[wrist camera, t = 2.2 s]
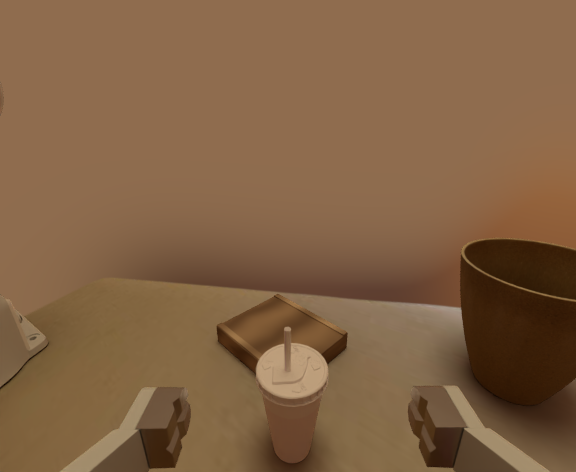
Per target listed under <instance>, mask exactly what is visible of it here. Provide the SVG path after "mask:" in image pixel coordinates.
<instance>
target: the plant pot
mask: <svg viewBox="0 0 576 472" xmlns="http://www.w3.org/2000/svg"><path fill="white" fill-rule="evenodd" d="M460 272H461V273H460V292H461V294H460V295H461V310H462V320H463V328H464V334H465V341H466V346H467V351H468V355H469V360H470V364H471V367H472V371H473V374H474V376H475V377H476V379H477V380H478V382H479V383H480V384H481V385H482V386H483V387H485V388H486V389H487V390H488V391H490V392H491V393H493V394H494V395H496V396H498V397H500V398H502V399H504V400H506V401H509V402H512V403H515V404H519V405H536V404H539V403H541V402H543V401H544V400H546V399H548V398H549V397H551V396H552V395H554V394H555V393H557V392H558V391H560V390H561V389H562V388H564V387H565V386H566V385H568V384H569V383H570V382H572V381H573V380H574V379H575V378H576V249H574V248H570V247H566V246H561V245H557V244H552V243H546V242H540V241H533V240H525V239H514V238H488V239H480V240H475V241H472V242H469V243H467V244H466V245H464V246H463V247H462V249H461V271H460Z"/></svg>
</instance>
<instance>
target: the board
mask: <svg viewBox="0 0 576 472" xmlns="http://www.w3.org/2000/svg"><path fill="white" fill-rule="evenodd" d="M285 327H290V328H291V343H298V344H303V345H306V346H309V347H311V348H313V349H315V350H316V351H318V352H319V353H320V354H321V355H322V356H323V358H324V359H325V361H326V363H327V364H328V363H329V362H330V361H331V360H332V359H334V358H335V357H336V356H337V355H338V354H339V353H341V352H342V351H343V350H344V349H345V348H346V345H347V332H346V331H344V330H342V329H341V328H339V327H337V326H335V325H333V324H332V323H330V322H328V321H326V320H324V319H323V318H321V317H319V316H317V315H315V314H313V313H312V312H310V311H308V310H306V309H304V308H303V307H301V306H299V305H297V304H295V303H294V302H292V301H290V300H288V299H286V298H285V297H283V296H281V295H279V294H276V295H274V297H272V298H270V299H269V300H267V301H265V302H263V303H261V304H259V305H257V306H255V307H253V308H251V309H249V310H247V311H245V312H244V313H242V314H240V315H238V316H236V317H234V318H232V319H230V320H228V321H226V322H224V323H220V324H218V325H217V335H218V341H219V342H220V343H221V344H222V345H223V346H225V347H226V348H227V349H228V350H229V351H230V352H231V353H233V354H234V355H235V356H236V357H237V358H238V359H239V360H241V361H242V362H243V363H244V364H245V365H246V366H247V367H249V368H250V369H251V370H252V371H253V372H254V373H255V374H256V366H257V363H258V361H259V359H260V357H261V356H262V355H263V354H264V353H265V352H266V351H267V350H269V349H271V348H272V347H275V346H277V345H281V344H284V328H285Z"/></svg>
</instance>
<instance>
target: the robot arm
mask: <svg viewBox="0 0 576 472" xmlns="http://www.w3.org/2000/svg"><path fill="white" fill-rule="evenodd" d="M3 99H4V97H3V90H2V86H1V83H0V115H1V112H2V109H3ZM47 344H48V340H47V338H46V337H45V335H43V334H42V333H41V332H40V331H39V330H38V329H37V328H36V327H35V326H34V325H33V324H32V323H30V322H29V321H28V320H27V319H26V318H25V317H24V316H23V315H22V314H21V313H20V312H18V311H17V310H16V309H15V308H14V307H13V305H12V303H11V301H10V300H9V299H5V298H4V297H3V296H2V295H0V387H1V386H2V385H3V384H5V383H6V382H7V381H8V380H9V379H10V378H12V377H13V376H14V375H15V374H16V373H17V372H18V371H19V370H20V368H21V367H22V366H23V365H24V364H25V362H26V361H27V360H28V359H29V358H31V357H32V356H34V355H35V354H36V353H38V352H39V351H40V350H42V349H43V348H44V347H45V346H46V345H47ZM187 397H188V392H187V388H177V387H144V388H143V389H142V390H141V391H140V392H139V394H138V396H137V397H136V399H135V401H134V403H133V404H132V406H131V408H130V410H129V411H128V413H127V415H126V417H125V418H124V420H123V422H122V424H121V425H120V427H119V429H117V430H113V431H111V432H110V433H109V434H108V435H106V436H105V437H104V438H102V439H101V440H100V441H99V442H97V443H96V444H95V445H93V446H92V447H91V448H90V449H88V450H87V451H86V452H84V453H83V454H82V455H81V456H79V457H78V458H77V459H76V460H74V461H73V462H72V463H70V464H69V465H68V466H67V467H65V468H64V469H63V470H61V471H60V472H148V471H149V469H153V468H175V466H176V464H177V461H178V458H179V455H180V452H181V449H182V444H181V439H182V438H183V437H184V436H185V435H186V434H187V431H188V428H189V423H190V417H191V409H190V404H189V403H188V402H187V401H186V400H187ZM411 397H412V399H413V400H412V401H411V402H410V403H409V406H408V417H409V422H410V426H411V429H412V431H413V434H415V435H416V436H417V437H418V438H419V439H420V442H419V449H420V451H421V453H422V456H423V458H424V461H425V463H426V466H427V467H443V468H453V470H454V471H455V472H550V471H549V470H547V469H546V468H544V467H543V466H542V465H540V464H539V463H538V462H536V461H535V460H533V459H532V458H531V457H529V456H528V455H526V454H525V453H524V452H522V451H521V450H519V449H518V448H517V447H515V446H514V445H512V444H511V443H510V442H508V441H507V440H506V439H504V438H503V437H501V436H500V435H499V434H497V433H496V432H494V431H493V430H492V429H490V428H485V427H484V425H483V424H482V422H481V421H480V419H479V418H478V416H477V415H476V413H475V412H474V410H473V409H472V407H471V406H470V404H469V403H468V401H467V399H466V398H465V396H464V395H463V393H462V392H461V390H460V389H459V388H458V387H457V386H413V387H412V389H411Z"/></svg>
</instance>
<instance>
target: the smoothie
mask: <svg viewBox="0 0 576 472" xmlns="http://www.w3.org/2000/svg"><path fill="white" fill-rule="evenodd" d="M256 384H257V386H258V389H259V391H260V392H261V393H262V396H263V400H264V405H265V410H266V414H267V419H268V424H269V429H270V433H271V438H272V443H273V448H274V451H275V453H276V455H277V456H278V457H279V458H280V459H281V460H282V461H284V462H287V463H298V462H300V461H302V460H303V459H305V458H306V456H307V455H308V453H309V451H310V447H311V443H312V438H313V433H314V429H315V424H316V420H317V415H318V410H319V406H320V401H321V397H322V394H323V393H324V392H325V390H326V388H327V385H328V366H327V363H326V361H325V359H324V358H323V356H322V355H321V354H320V353H319V352H318V351H316V350H315V349H313V348H311V347H309V346H306V345H303V344H298V343H291V328H290V327H285V328H284V344H281V345H277V346H275V347H272V348H271V349H269V350H267V351H266V352H265V353H264V354H263V355H262V356H261V357H260V359H259V361H258V363H257V366H256Z"/></svg>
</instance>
